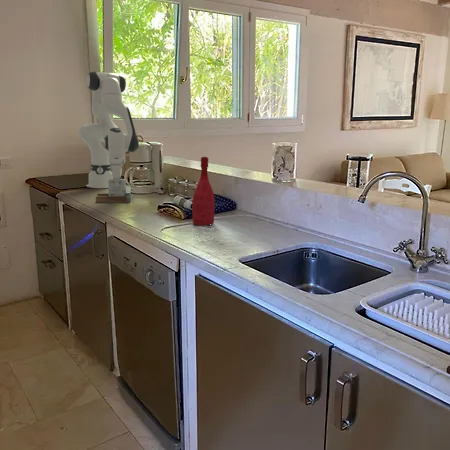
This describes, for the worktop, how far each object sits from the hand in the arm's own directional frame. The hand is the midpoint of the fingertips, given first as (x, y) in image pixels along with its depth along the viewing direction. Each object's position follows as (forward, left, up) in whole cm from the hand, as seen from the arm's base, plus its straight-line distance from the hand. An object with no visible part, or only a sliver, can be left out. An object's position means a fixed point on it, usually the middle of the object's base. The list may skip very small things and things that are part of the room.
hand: (117, 185), depth 251 cm
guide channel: (0, -2, -8) cm, 9 cm away
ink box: (0, 0, -9) cm, 9 cm away
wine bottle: (+55, +40, -9) cm, 68 cm away
